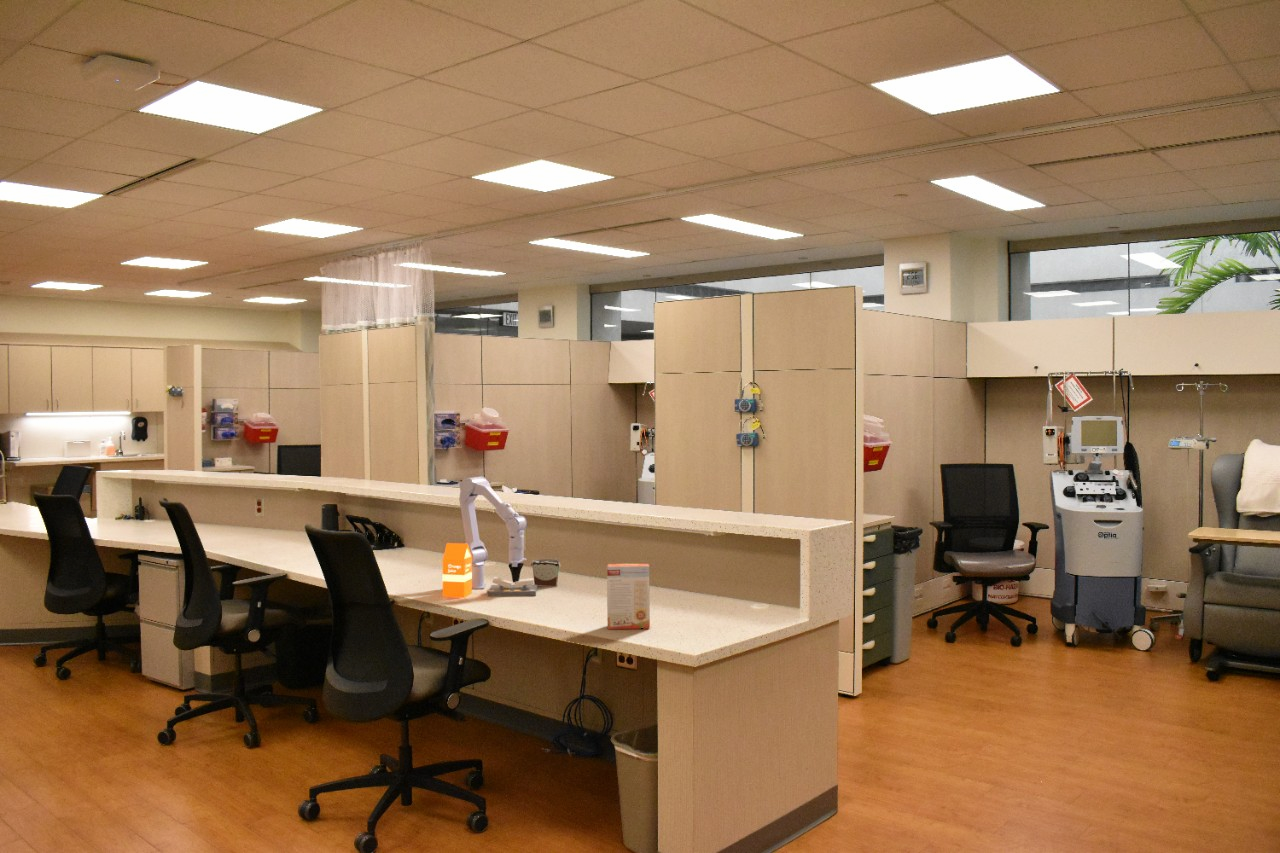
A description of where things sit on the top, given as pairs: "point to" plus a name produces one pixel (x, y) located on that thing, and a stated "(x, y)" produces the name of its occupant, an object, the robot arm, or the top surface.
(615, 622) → the cracker box
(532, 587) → the switch board
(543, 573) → the food container
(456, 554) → the orange juice
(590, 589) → the top surface
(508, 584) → the rocker
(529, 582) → the plate
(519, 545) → the robot arm
